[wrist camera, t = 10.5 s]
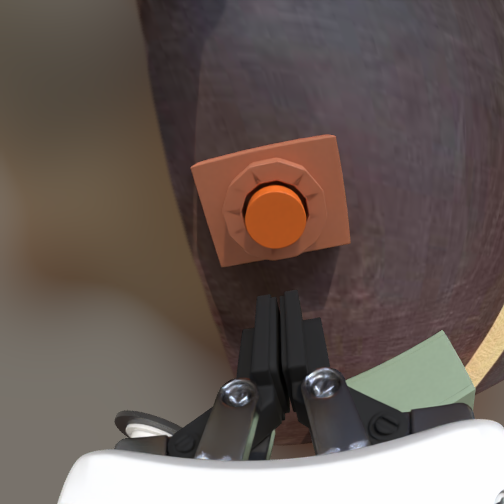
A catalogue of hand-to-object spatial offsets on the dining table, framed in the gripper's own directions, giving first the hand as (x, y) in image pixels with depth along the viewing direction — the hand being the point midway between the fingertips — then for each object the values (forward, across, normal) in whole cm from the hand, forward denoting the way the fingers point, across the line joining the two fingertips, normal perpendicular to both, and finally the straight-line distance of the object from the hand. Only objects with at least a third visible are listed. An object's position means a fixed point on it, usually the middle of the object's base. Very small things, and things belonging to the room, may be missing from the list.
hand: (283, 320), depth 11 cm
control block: (+12, 0, -2) cm, 12 cm away
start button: (+8, 0, -2) cm, 8 cm away
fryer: (+12, -13, +25) cm, 31 cm away
